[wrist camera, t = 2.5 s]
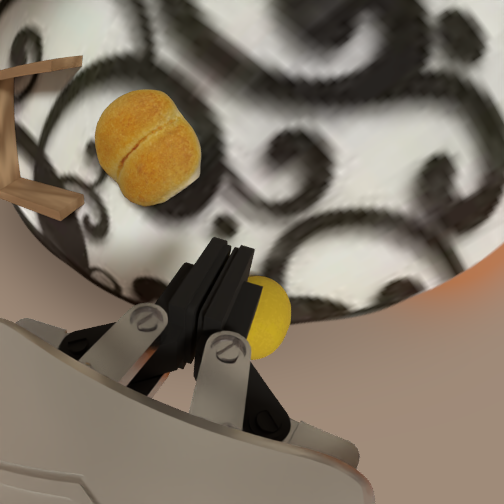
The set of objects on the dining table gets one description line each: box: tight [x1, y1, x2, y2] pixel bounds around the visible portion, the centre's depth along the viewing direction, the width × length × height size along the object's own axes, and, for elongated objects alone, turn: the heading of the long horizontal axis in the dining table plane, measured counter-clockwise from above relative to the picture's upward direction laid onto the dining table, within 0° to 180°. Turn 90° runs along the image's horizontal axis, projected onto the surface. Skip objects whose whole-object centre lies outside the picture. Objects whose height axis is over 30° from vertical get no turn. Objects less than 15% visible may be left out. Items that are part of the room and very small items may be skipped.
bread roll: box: [95, 90, 201, 206], centre depth 20 cm, size 8×9×4 cm
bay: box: [0, 55, 84, 221], centre depth 21 cm, size 14×12×4 cm
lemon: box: [246, 276, 291, 360], centre depth 23 cm, size 6×6×8 cm
